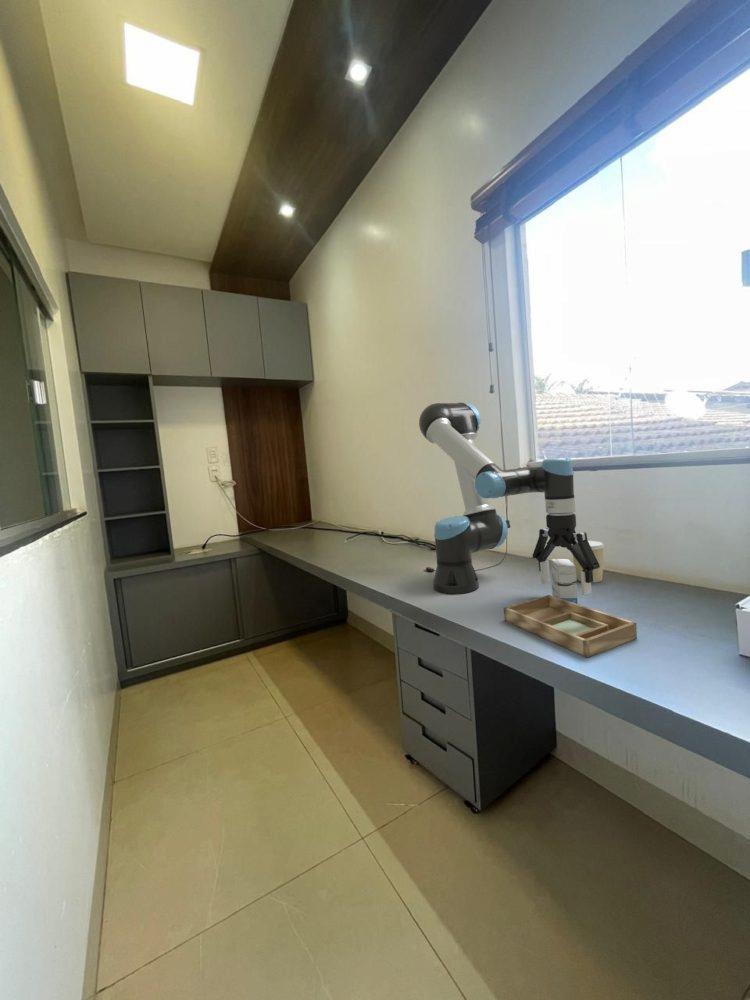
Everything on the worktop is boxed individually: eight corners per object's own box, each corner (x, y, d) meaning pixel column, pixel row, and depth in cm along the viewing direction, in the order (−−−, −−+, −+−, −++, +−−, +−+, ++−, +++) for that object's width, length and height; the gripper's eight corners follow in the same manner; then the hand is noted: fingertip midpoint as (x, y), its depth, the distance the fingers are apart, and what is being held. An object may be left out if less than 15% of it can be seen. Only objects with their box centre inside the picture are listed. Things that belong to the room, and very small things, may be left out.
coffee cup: (601, 574, 134) (599, 540, 133) (608, 583, 125) (607, 546, 124) (570, 574, 137) (569, 540, 136) (575, 583, 128) (574, 546, 127)
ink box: (578, 608, 108) (576, 565, 107) (559, 608, 109) (557, 566, 108) (569, 597, 116) (568, 557, 115) (551, 597, 117) (549, 558, 116)
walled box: (504, 620, 103) (503, 607, 103) (549, 607, 110) (548, 594, 110) (587, 657, 82) (586, 641, 81) (636, 638, 88) (636, 622, 88)
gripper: (517, 512, 120) (522, 581, 121) (591, 518, 97) (596, 602, 99) (535, 509, 123) (540, 576, 124) (612, 514, 100) (616, 596, 102)
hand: (565, 588), depth 112 cm, fingers open, 13 cm apart
